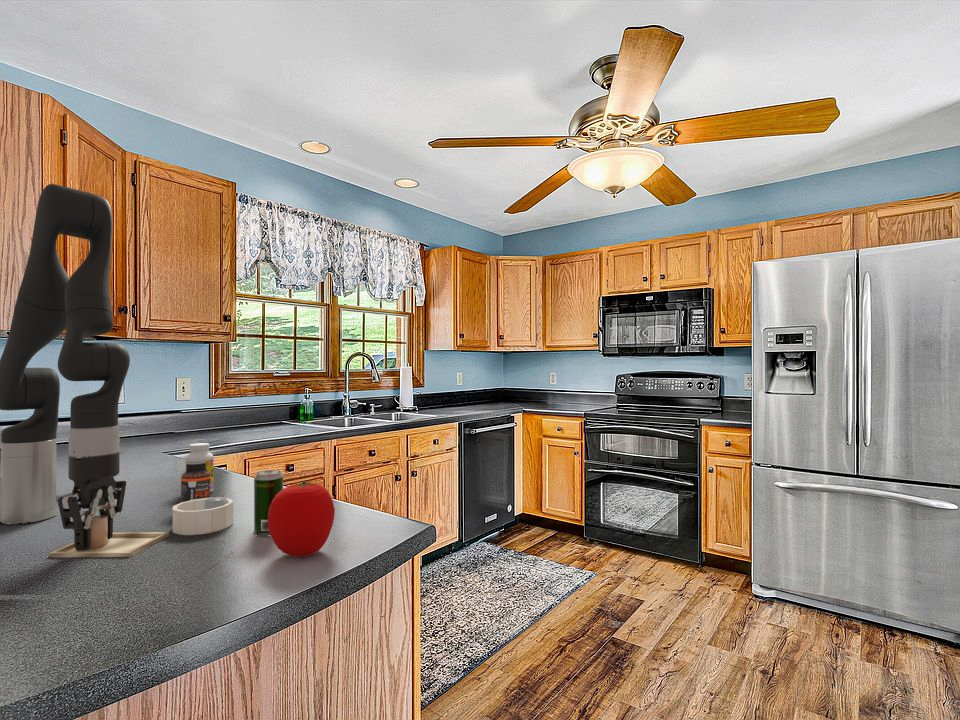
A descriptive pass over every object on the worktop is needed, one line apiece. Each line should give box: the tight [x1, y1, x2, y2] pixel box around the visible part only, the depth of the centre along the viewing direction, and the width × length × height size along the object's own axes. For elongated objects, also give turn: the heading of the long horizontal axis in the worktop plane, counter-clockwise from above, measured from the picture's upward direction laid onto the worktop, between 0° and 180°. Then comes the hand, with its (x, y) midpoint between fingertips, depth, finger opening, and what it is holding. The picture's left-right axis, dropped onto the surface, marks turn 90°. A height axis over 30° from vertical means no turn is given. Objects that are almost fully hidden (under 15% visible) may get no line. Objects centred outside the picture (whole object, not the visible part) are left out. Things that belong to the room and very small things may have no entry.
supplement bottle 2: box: [180, 461, 211, 503], centre depth 118 cm, size 6×6×11 cm
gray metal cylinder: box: [205, 496, 227, 509], centre depth 107 cm, size 4×4×5 cm
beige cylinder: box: [81, 515, 108, 550], centre depth 94 cm, size 4×4×5 cm
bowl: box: [172, 497, 234, 536], centre depth 106 cm, size 11×11×5 cm
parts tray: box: [48, 531, 170, 559], centre depth 94 cm, size 14×11×1 cm
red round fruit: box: [268, 480, 336, 558], centre depth 91 cm, size 11×11×13 cm
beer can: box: [253, 469, 284, 537], centre depth 103 cm, size 5×5×12 cm
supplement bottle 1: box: [184, 442, 215, 493], centre depth 137 cm, size 7×7×13 cm
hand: (94, 544), depth 94 cm, fingers open, 5 cm apart
